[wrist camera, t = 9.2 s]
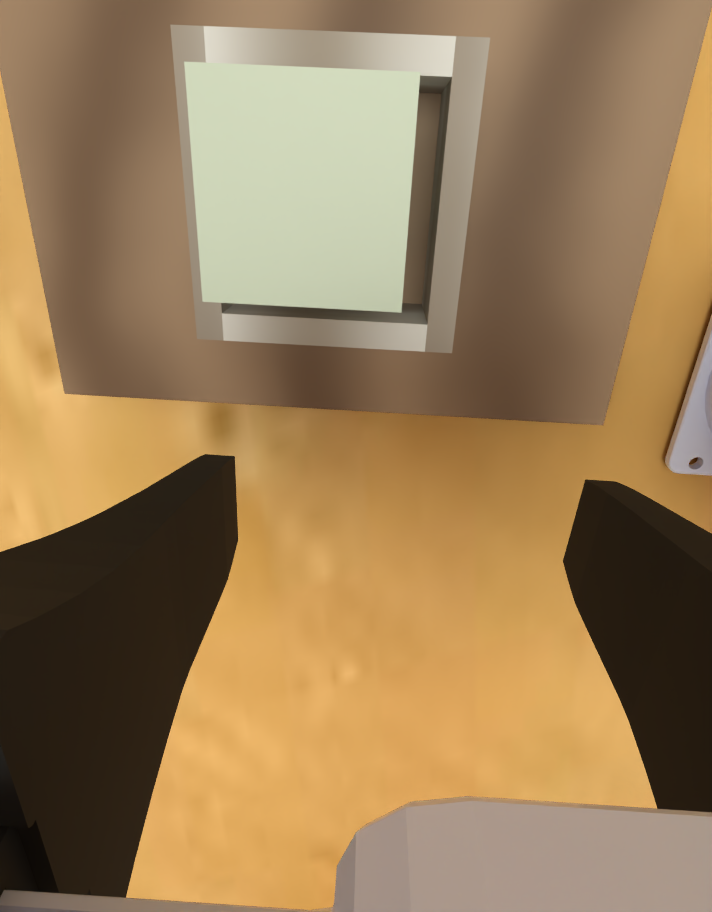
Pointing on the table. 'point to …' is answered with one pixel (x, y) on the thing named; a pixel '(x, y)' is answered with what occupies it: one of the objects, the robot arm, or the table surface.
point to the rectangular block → (302, 183)
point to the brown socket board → (431, 204)
